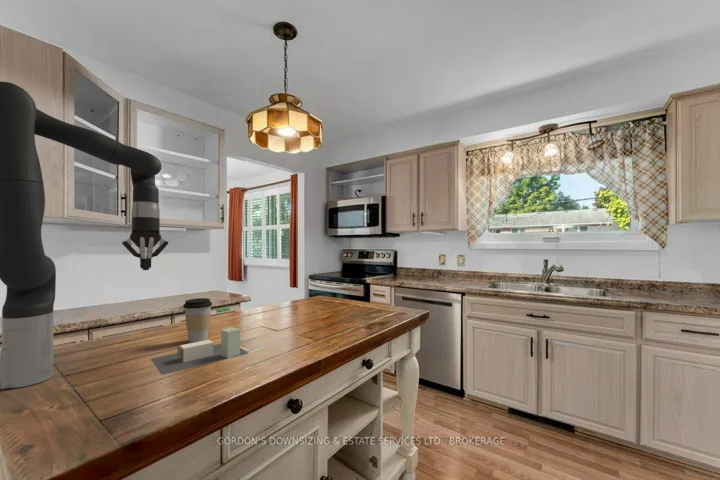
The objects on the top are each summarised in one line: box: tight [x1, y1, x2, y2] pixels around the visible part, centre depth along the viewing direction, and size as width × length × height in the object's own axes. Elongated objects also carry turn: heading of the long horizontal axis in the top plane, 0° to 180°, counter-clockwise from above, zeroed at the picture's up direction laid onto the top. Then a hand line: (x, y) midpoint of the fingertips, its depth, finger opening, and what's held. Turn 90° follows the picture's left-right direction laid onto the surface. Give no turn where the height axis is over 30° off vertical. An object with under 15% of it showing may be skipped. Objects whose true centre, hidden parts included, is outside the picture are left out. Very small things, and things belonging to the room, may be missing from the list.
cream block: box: [177, 339, 214, 363], centre depth 97 cm, size 4×4×9 cm
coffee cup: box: [182, 297, 213, 343], centre depth 114 cm, size 9×9×15 cm
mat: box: [150, 343, 250, 376], centre depth 98 cm, size 24×16×1 cm, turn 132°
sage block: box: [220, 326, 241, 359], centre depth 99 cm, size 4×4×8 cm
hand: (145, 269), depth 103 cm, fingers closed
